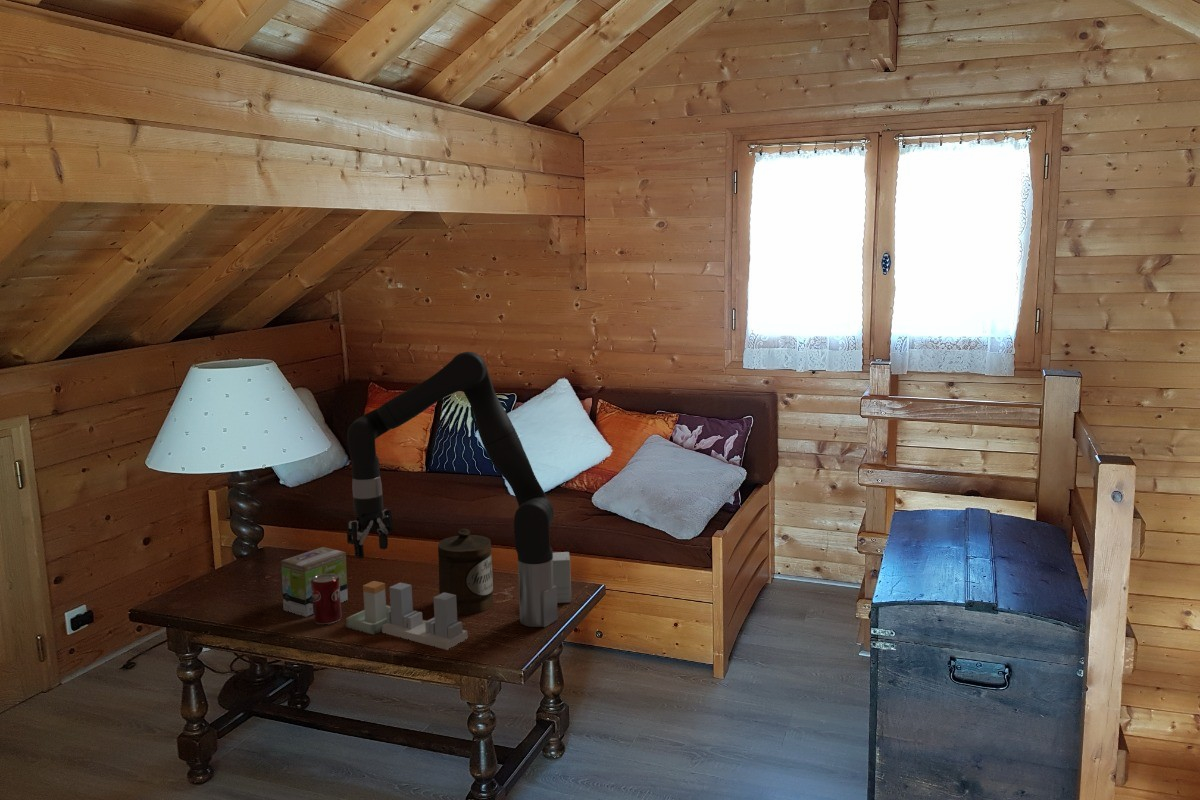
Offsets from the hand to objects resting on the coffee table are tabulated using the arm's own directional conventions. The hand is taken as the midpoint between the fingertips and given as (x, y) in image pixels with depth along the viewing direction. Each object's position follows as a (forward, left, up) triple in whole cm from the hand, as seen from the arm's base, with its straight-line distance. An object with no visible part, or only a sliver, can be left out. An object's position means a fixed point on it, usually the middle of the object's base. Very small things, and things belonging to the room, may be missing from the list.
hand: (372, 553), depth 246 cm
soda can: (+13, +5, -20) cm, 24 cm away
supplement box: (-33, -38, -20) cm, 54 cm away
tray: (0, 0, -19) cm, 19 cm away
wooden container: (-13, -22, -20) cm, 32 cm away
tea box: (+24, -1, -20) cm, 31 cm away
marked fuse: (0, 0, -19) cm, 19 cm away
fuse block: (-17, 0, -19) cm, 26 cm away
